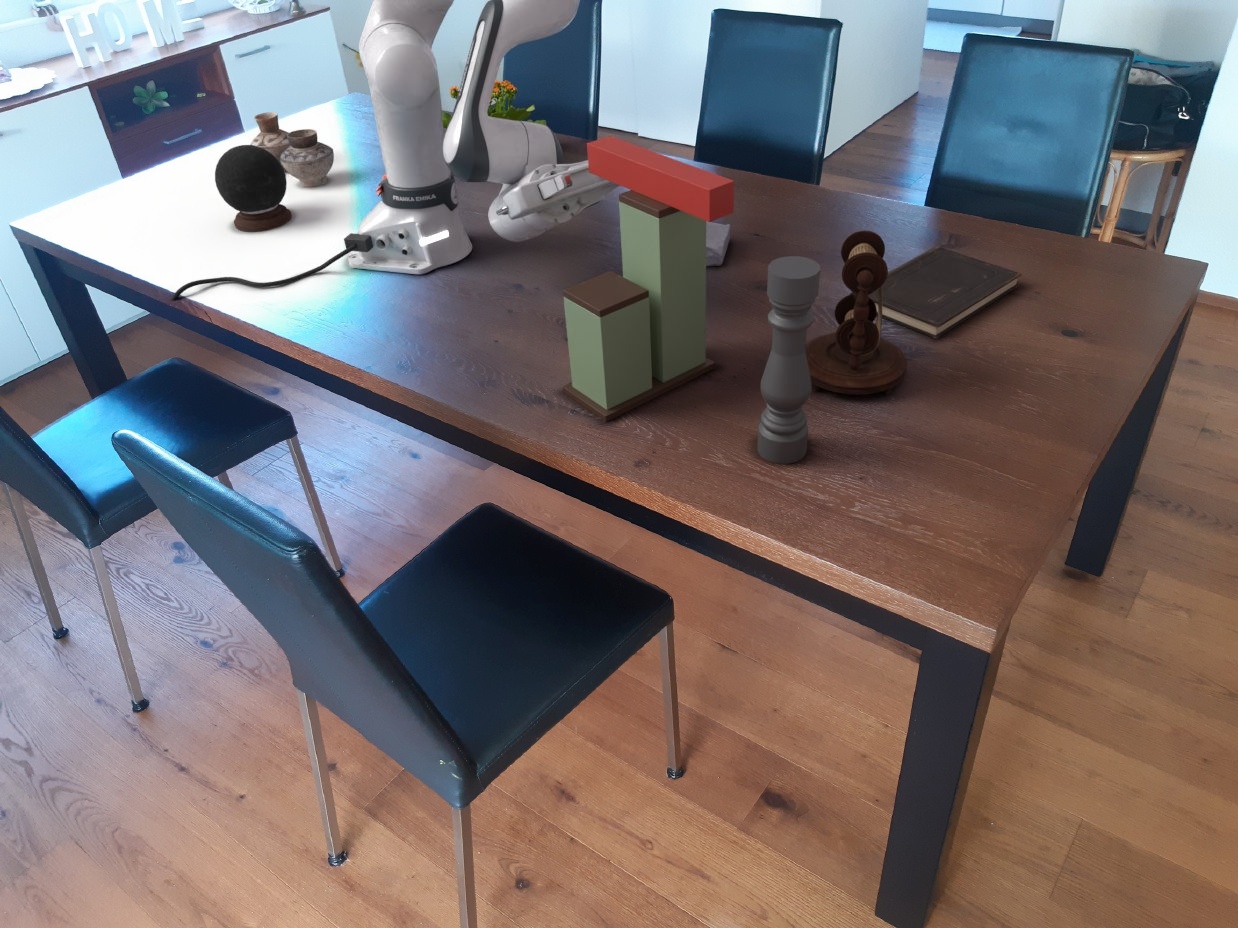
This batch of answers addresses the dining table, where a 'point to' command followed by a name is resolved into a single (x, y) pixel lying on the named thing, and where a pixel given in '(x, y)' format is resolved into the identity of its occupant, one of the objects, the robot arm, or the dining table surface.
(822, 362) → the scroll
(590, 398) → the step shelf
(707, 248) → the stone block
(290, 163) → the pottery
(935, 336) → the hardcover book
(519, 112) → the potted flower
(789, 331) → the candle holder
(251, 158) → the black ball on stand
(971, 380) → the dining table surface
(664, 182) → the red bar
